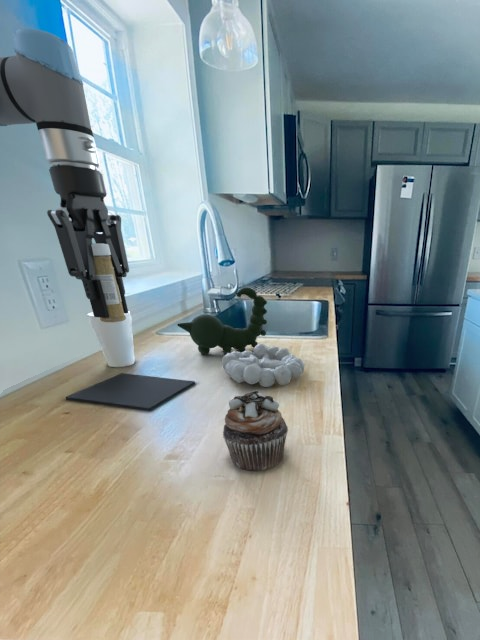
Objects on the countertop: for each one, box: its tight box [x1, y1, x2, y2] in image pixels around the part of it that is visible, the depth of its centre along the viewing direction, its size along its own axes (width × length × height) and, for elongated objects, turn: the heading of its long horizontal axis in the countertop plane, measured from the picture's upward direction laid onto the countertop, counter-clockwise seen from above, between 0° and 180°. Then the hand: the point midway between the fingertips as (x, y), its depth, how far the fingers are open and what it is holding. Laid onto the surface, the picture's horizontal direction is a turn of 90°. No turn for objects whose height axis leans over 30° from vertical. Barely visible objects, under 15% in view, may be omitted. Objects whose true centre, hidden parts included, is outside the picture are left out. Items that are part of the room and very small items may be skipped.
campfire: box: [221, 343, 306, 388], centre depth 89 cm, size 22×21×6 cm
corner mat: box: [65, 372, 196, 412], centre depth 80 cm, size 20×16×1 cm
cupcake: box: [222, 390, 289, 472], centre depth 54 cm, size 10×10×10 cm
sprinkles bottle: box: [91, 242, 126, 322], centre depth 68 cm, size 5×5×14 cm
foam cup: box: [86, 310, 136, 368], centre depth 94 cm, size 10×9×13 cm
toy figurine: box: [176, 287, 268, 356], centre depth 105 cm, size 9×19×25 cm
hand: (111, 314), depth 71 cm, fingers closed on sprinkles bottle, 4 cm apart
